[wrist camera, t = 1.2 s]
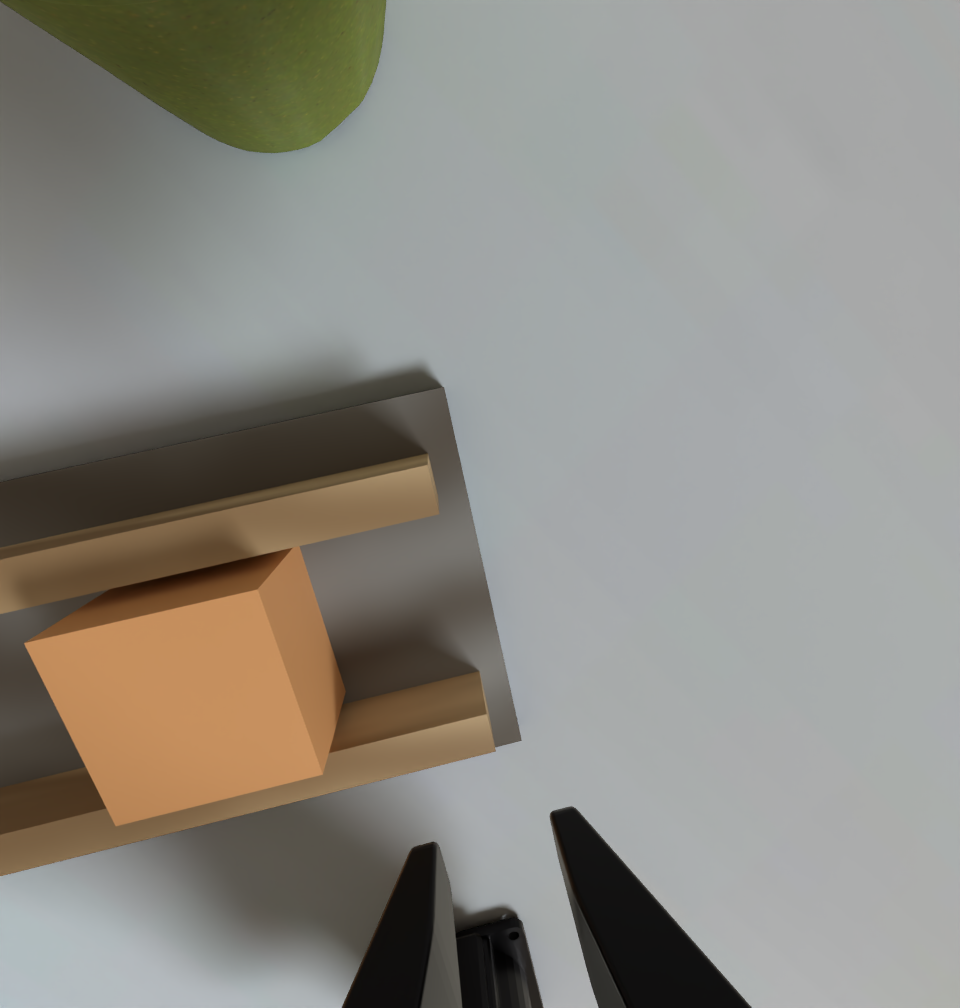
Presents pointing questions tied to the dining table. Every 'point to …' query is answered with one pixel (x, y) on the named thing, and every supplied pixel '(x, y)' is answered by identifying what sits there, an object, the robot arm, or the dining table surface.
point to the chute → (247, 533)
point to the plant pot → (231, 59)
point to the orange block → (196, 685)
